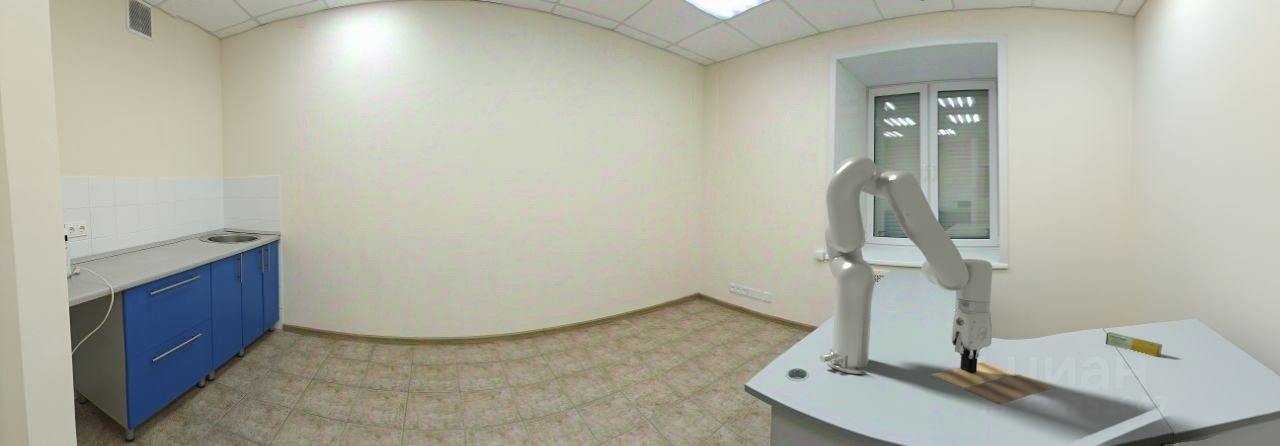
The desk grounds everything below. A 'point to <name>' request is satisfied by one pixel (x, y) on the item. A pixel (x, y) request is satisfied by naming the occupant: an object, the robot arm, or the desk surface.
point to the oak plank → (973, 375)
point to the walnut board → (1009, 388)
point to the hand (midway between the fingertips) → (968, 370)
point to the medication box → (1134, 344)
